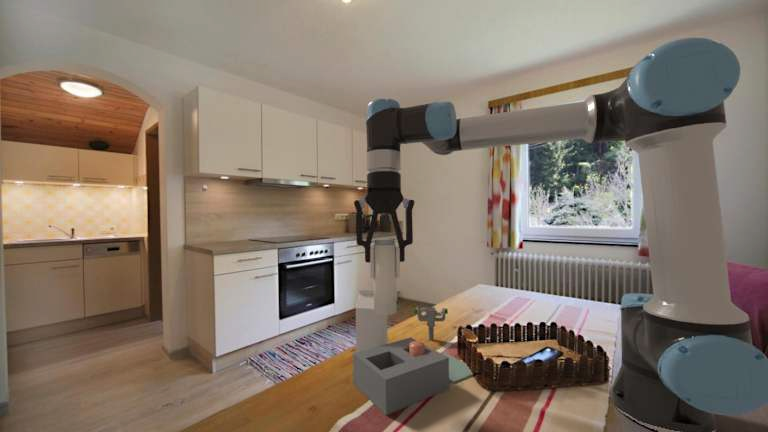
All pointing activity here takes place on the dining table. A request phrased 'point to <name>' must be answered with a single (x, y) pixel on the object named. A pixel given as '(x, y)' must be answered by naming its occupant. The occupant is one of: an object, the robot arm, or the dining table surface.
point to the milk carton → (369, 323)
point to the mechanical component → (430, 317)
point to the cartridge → (385, 277)
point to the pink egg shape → (416, 348)
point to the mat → (457, 369)
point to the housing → (399, 375)
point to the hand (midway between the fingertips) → (384, 276)
